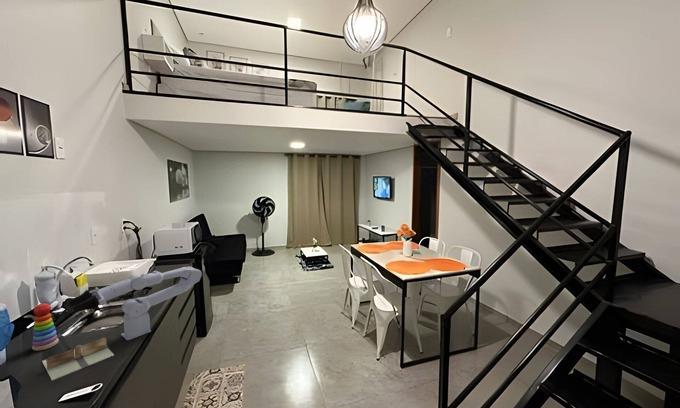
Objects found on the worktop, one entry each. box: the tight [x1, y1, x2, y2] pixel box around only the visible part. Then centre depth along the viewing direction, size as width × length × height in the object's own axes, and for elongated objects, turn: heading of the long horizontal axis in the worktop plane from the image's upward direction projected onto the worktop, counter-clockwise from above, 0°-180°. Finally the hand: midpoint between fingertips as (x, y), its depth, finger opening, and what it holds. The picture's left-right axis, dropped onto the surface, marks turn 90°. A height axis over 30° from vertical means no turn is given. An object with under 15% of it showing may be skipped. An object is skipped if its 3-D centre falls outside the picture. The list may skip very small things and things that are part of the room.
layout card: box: [41, 345, 115, 381], centre depth 112 cm, size 18×18×1 cm
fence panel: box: [45, 348, 75, 369], centre depth 108 cm, size 8×1×4 cm, turn 144°
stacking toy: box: [31, 302, 60, 352], centre depth 120 cm, size 8×8×19 cm
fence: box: [74, 337, 108, 359], centre depth 115 cm, size 10×2×5 cm, turn 144°
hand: (71, 307), depth 112 cm, fingers open, 7 cm apart
